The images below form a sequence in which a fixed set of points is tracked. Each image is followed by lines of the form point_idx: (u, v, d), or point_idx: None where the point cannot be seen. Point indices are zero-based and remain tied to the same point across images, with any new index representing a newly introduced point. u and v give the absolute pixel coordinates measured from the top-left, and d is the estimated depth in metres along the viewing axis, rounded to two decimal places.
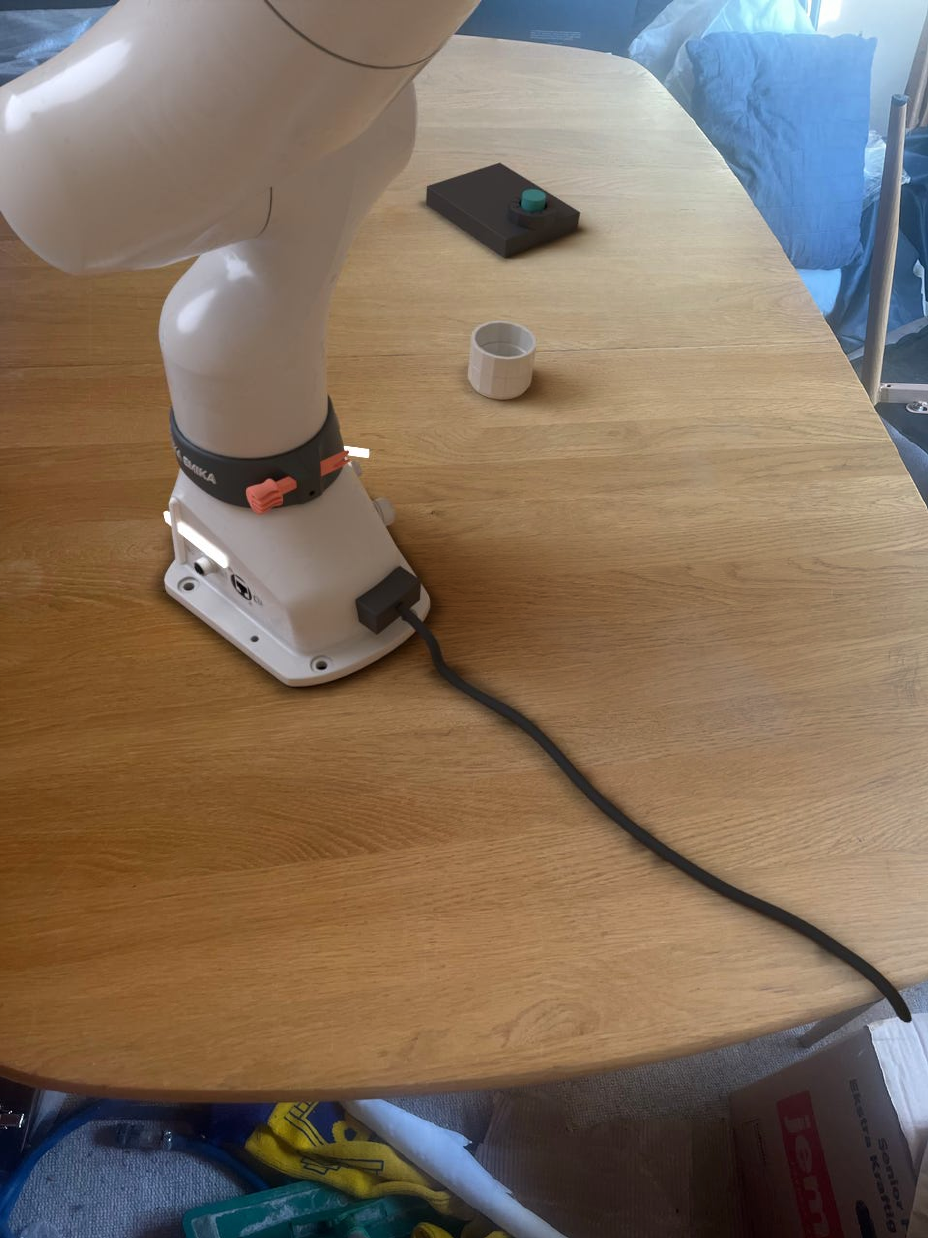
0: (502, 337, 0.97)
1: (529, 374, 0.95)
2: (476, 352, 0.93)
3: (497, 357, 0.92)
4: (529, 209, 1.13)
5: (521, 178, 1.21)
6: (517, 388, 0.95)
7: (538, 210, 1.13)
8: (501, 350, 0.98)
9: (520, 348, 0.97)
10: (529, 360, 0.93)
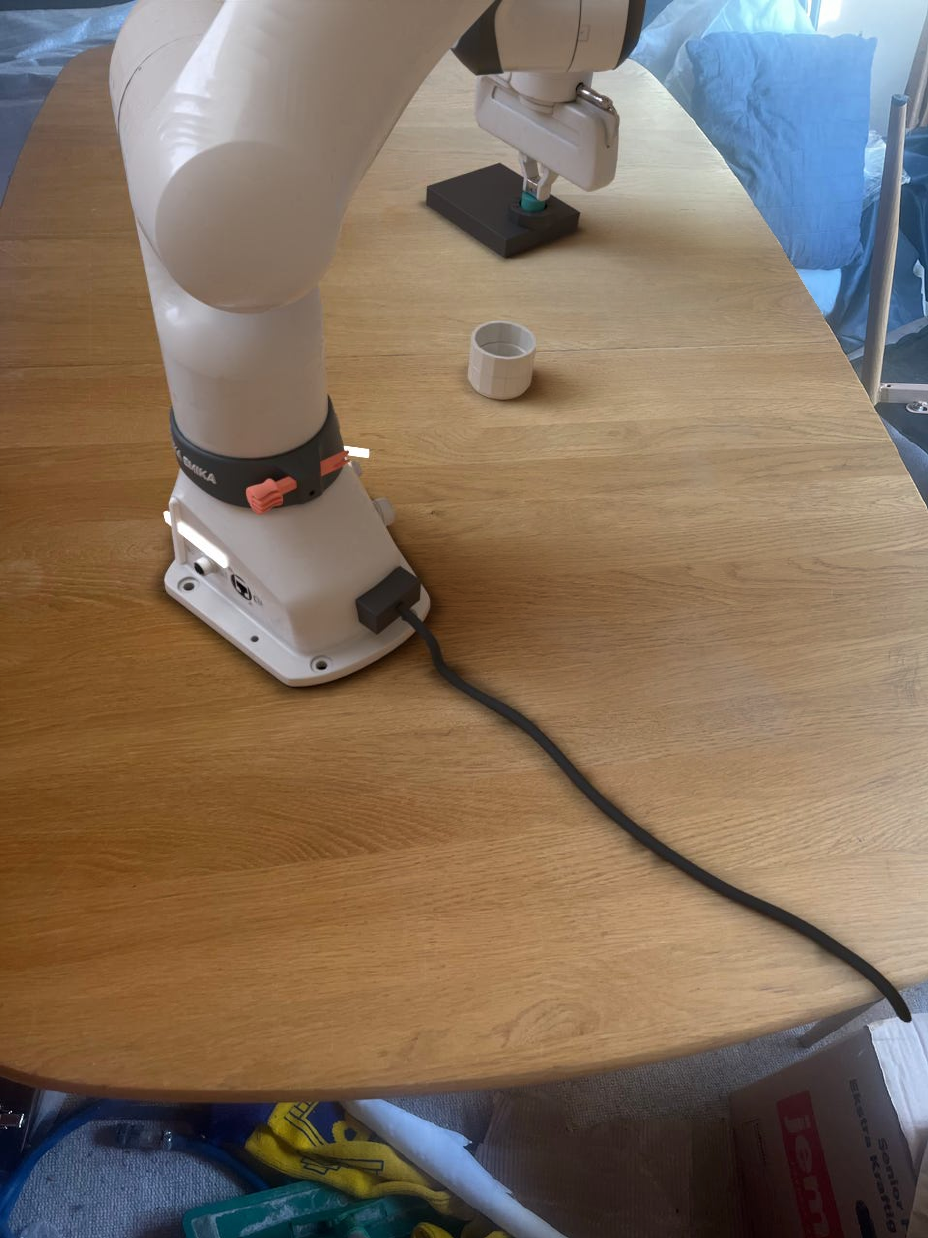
0: (502, 337, 0.97)
1: (529, 374, 0.95)
2: (476, 352, 0.93)
3: (497, 357, 0.92)
4: (529, 209, 1.13)
5: (521, 178, 1.21)
6: (517, 388, 0.95)
7: (538, 210, 1.13)
8: (501, 350, 0.98)
9: (520, 348, 0.97)
10: (529, 360, 0.93)
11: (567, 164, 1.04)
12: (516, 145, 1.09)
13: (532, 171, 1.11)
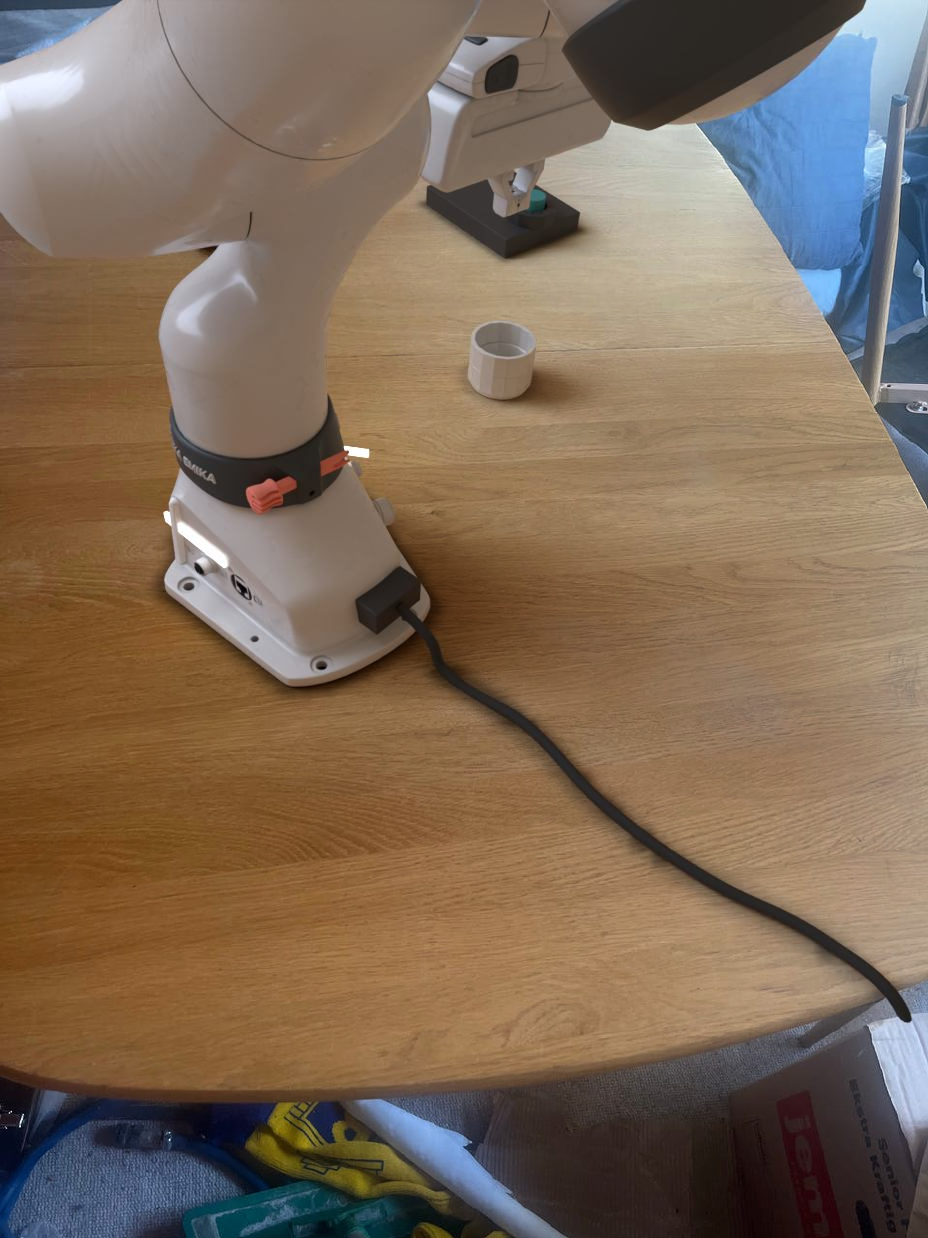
0: (502, 337, 0.97)
1: (529, 374, 0.95)
2: (476, 352, 0.93)
3: (497, 357, 0.92)
4: (529, 209, 1.13)
5: None
6: (517, 388, 0.95)
7: (538, 210, 1.13)
8: (501, 350, 0.98)
9: (520, 348, 0.97)
10: (529, 360, 0.93)
11: (581, 129, 0.83)
12: (512, 165, 0.80)
13: None
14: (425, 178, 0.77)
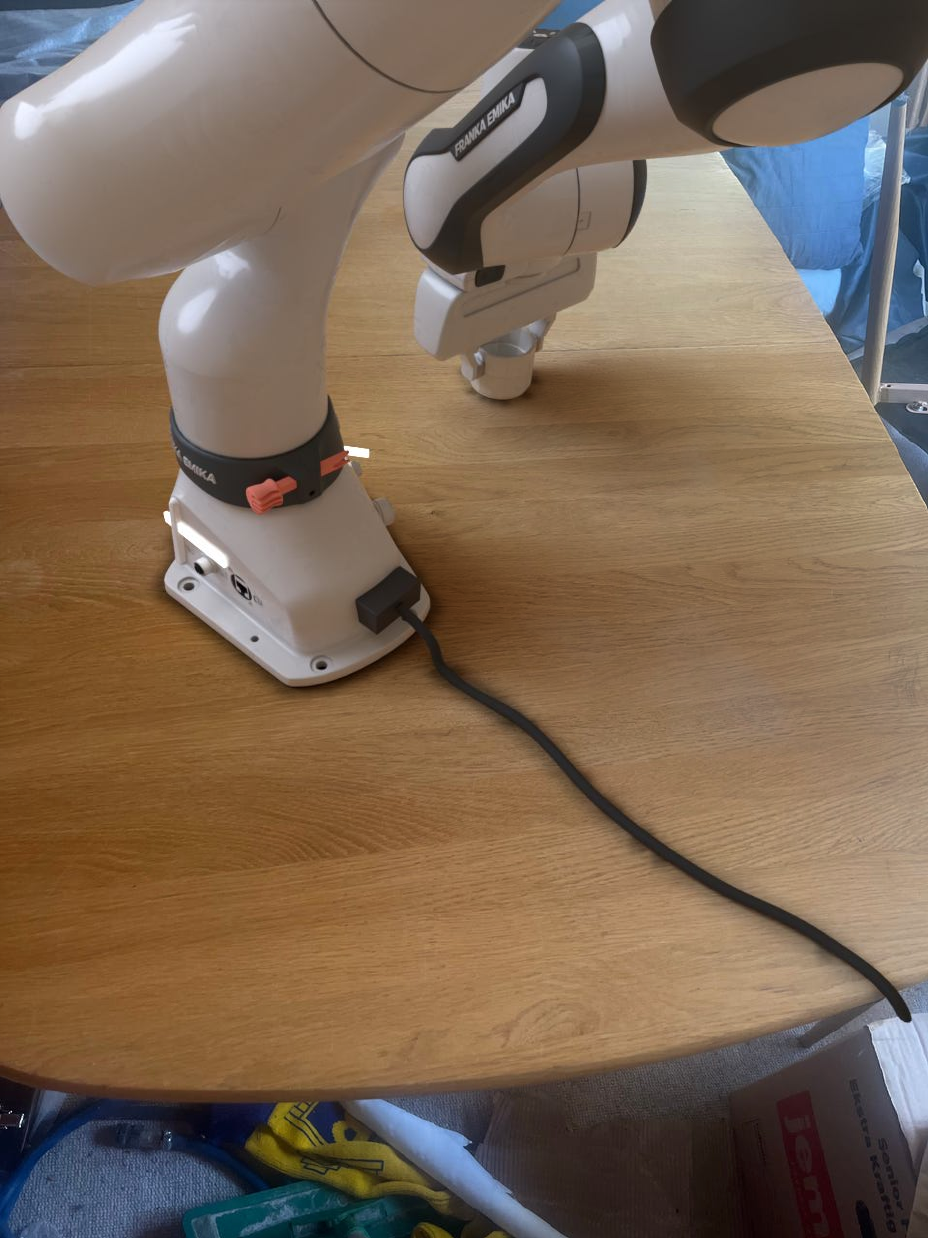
0: (502, 337, 0.97)
1: (529, 374, 0.95)
2: None
3: (497, 356, 0.92)
4: None
5: None
6: (517, 388, 0.95)
7: None
8: (501, 350, 0.98)
9: (520, 348, 0.97)
10: (529, 360, 0.93)
11: (566, 296, 0.93)
12: (501, 333, 0.90)
13: None
14: (423, 348, 0.87)
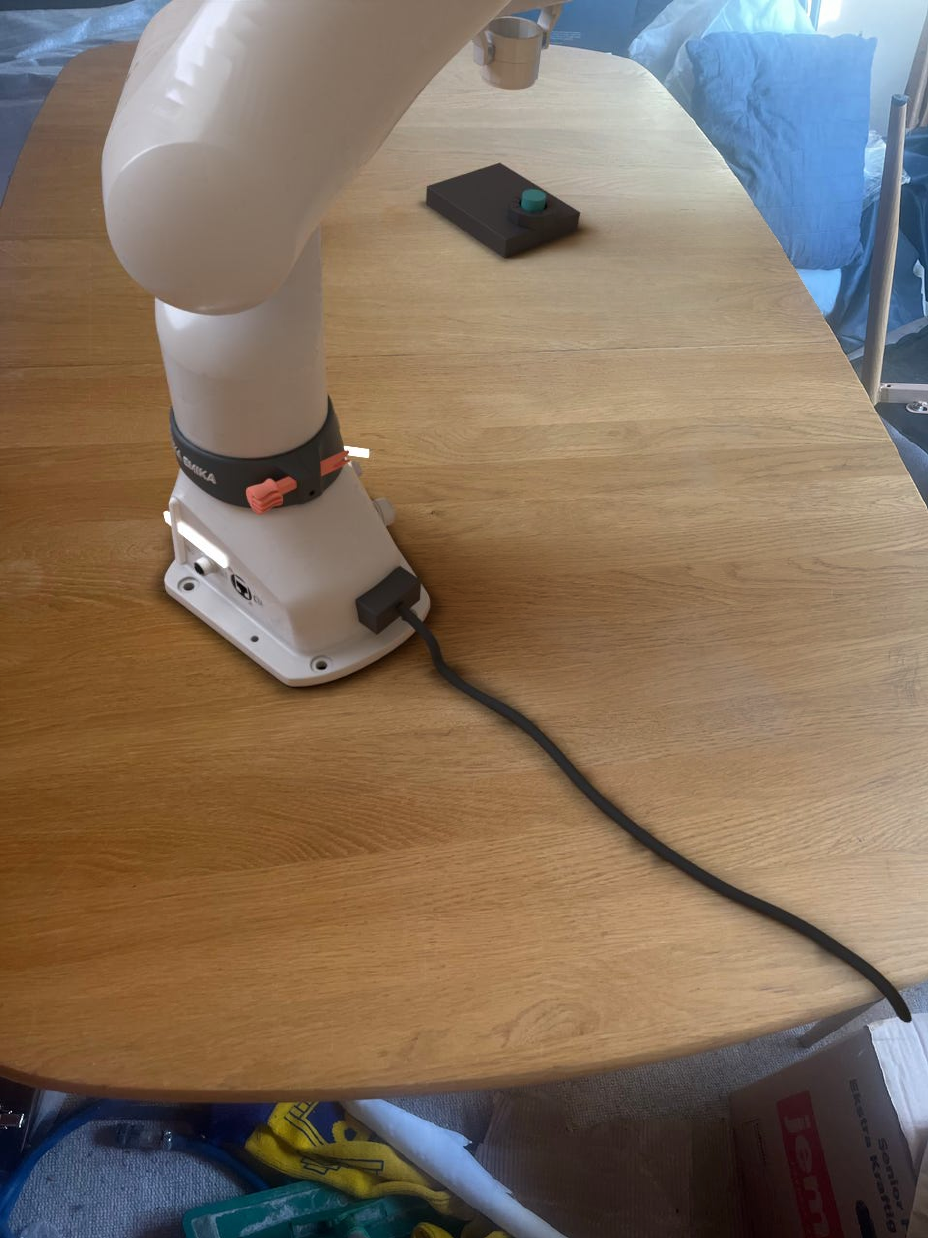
0: (511, 35, 1.04)
1: (536, 64, 1.02)
2: (487, 37, 1.00)
3: (507, 38, 0.99)
4: (529, 209, 1.13)
5: (521, 178, 1.21)
6: (525, 77, 1.02)
7: (538, 210, 1.13)
8: None
9: None
10: (536, 45, 1.00)
11: None
12: (510, 9, 0.97)
13: None
14: None
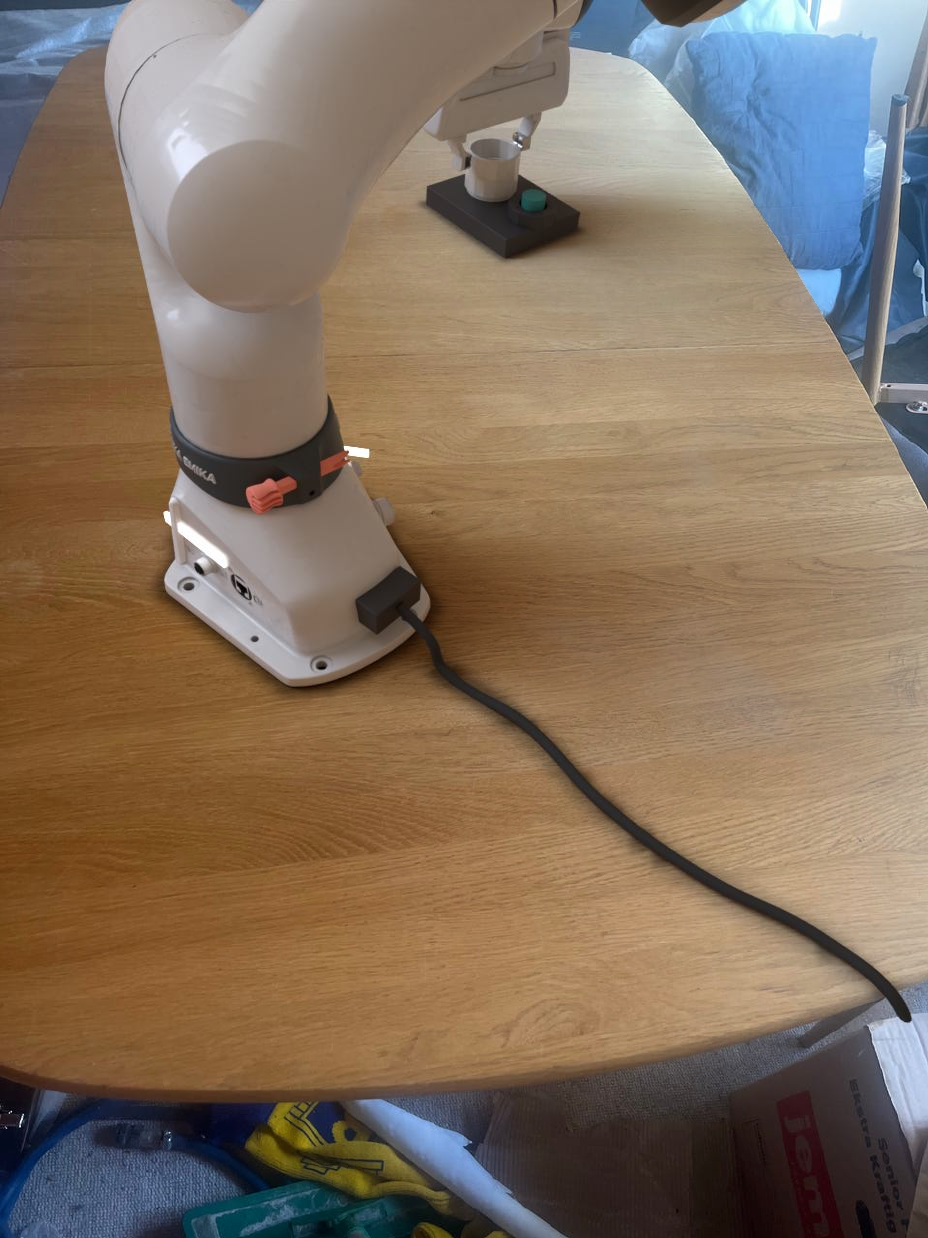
0: (493, 152, 1.18)
1: (515, 180, 1.16)
2: (471, 158, 1.14)
3: (488, 160, 1.13)
4: (529, 209, 1.13)
5: (521, 178, 1.21)
6: (505, 191, 1.16)
7: (538, 210, 1.13)
8: None
9: None
10: (515, 165, 1.14)
11: (544, 97, 1.12)
12: (490, 122, 1.09)
13: None
14: (426, 130, 1.07)
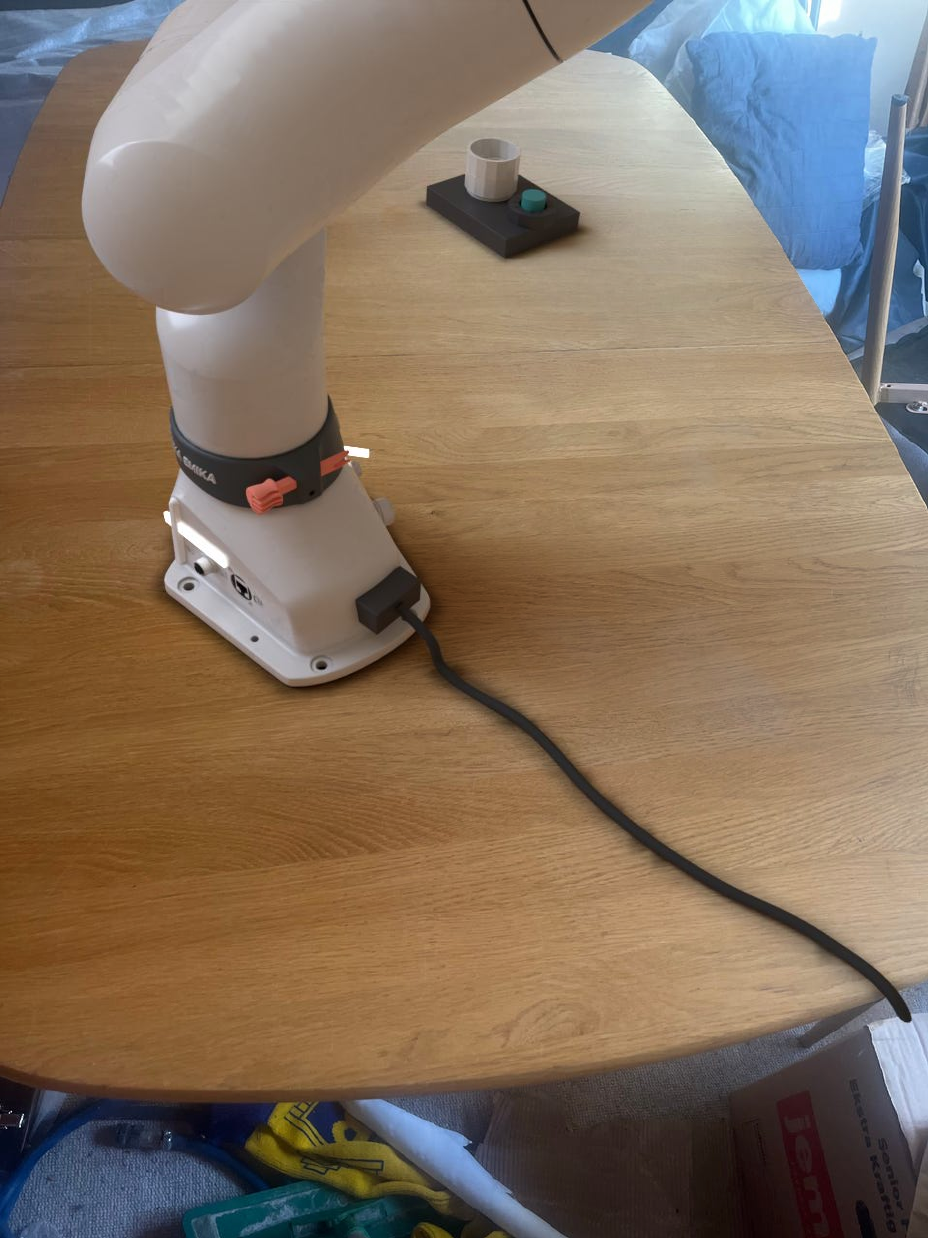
0: (493, 152, 1.18)
1: (515, 180, 1.16)
2: (471, 158, 1.14)
3: (488, 160, 1.13)
4: (529, 209, 1.13)
5: (521, 178, 1.21)
6: (505, 191, 1.16)
7: (538, 210, 1.13)
8: None
9: None
10: (515, 165, 1.14)
11: None
12: None
13: None
14: None
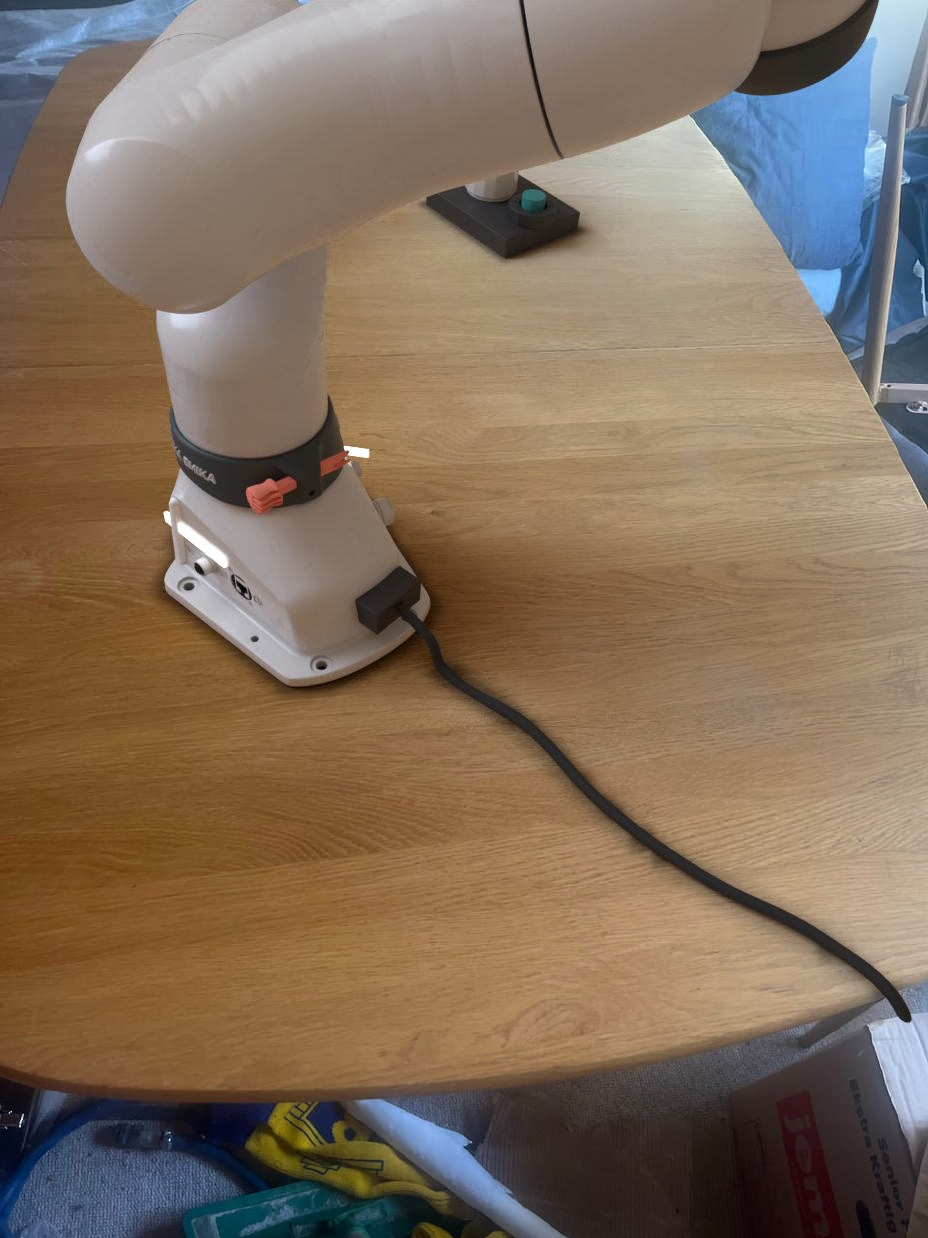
0: None
1: (515, 180, 1.16)
2: None
3: None
4: (529, 209, 1.13)
5: (521, 178, 1.21)
6: (505, 191, 1.16)
7: (538, 210, 1.13)
8: None
9: None
10: None
11: None
12: None
13: None
14: None
